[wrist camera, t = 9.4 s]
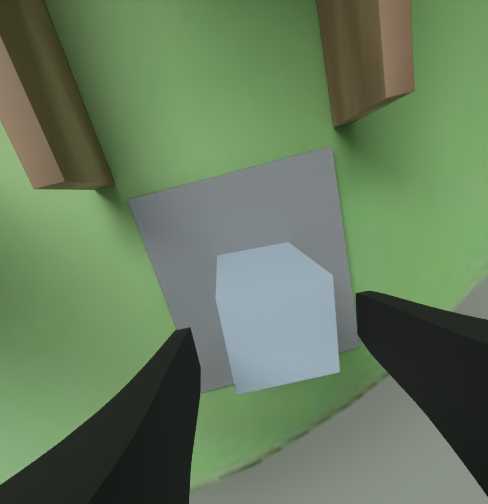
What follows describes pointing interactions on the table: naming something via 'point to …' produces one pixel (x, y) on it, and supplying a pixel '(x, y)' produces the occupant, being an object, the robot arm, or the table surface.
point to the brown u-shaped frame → (78, 122)
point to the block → (276, 317)
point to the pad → (243, 242)
